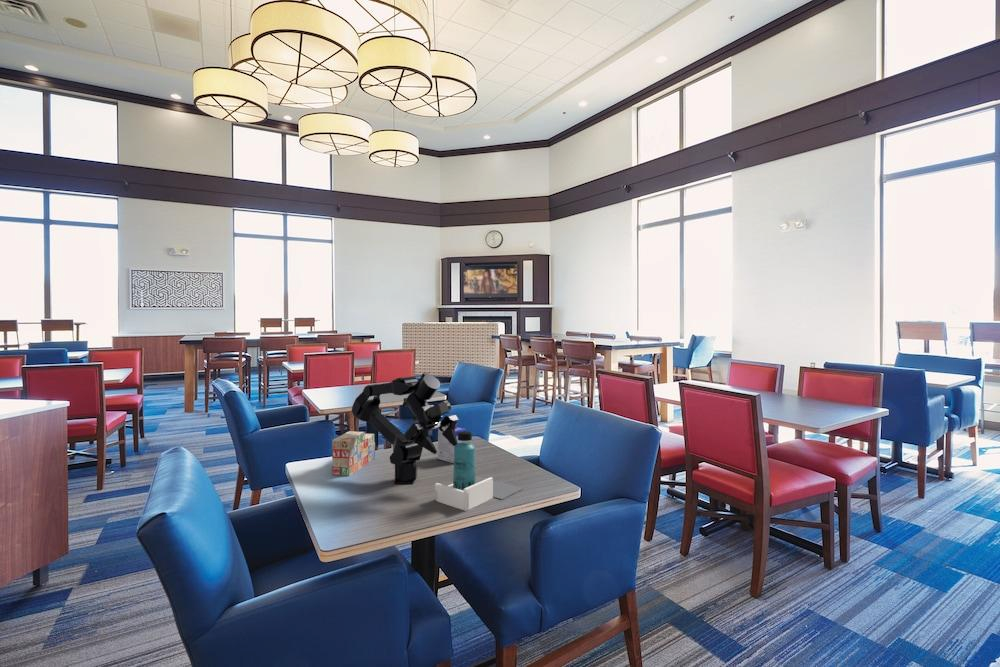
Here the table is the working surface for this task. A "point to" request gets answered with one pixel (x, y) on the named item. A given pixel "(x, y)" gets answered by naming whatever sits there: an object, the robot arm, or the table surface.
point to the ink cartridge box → (447, 446)
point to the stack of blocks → (352, 452)
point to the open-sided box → (465, 494)
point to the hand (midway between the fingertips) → (446, 449)
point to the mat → (501, 488)
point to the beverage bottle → (464, 462)
